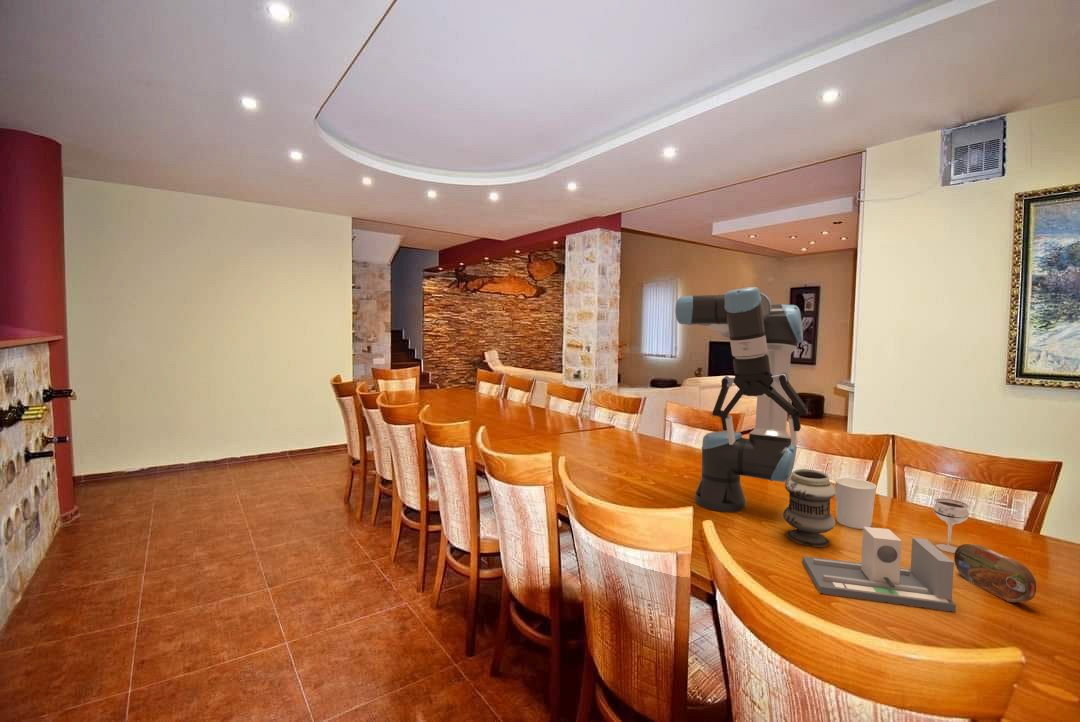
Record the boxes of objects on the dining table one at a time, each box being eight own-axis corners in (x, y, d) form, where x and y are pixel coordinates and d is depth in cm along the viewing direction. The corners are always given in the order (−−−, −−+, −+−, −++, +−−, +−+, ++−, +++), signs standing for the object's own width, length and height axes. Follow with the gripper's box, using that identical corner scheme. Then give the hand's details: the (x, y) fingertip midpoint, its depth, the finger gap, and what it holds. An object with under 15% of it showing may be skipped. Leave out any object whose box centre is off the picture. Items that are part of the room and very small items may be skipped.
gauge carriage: (878, 591, 97) (881, 544, 96) (861, 569, 106) (863, 526, 105) (906, 595, 96) (909, 548, 95) (886, 572, 105) (888, 529, 104)
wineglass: (969, 557, 115) (972, 510, 115) (934, 550, 119) (936, 504, 118) (963, 546, 121) (965, 501, 120) (929, 540, 125) (931, 496, 124)
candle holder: (881, 531, 130) (883, 489, 129) (842, 528, 132) (843, 487, 131) (864, 518, 140) (866, 478, 139) (828, 515, 142) (829, 476, 141)
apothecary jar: (785, 544, 122) (787, 477, 121) (780, 526, 133) (782, 464, 132) (839, 552, 118) (842, 482, 117) (829, 533, 129) (831, 469, 128)
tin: (951, 572, 108) (954, 537, 108) (964, 572, 109) (966, 536, 108) (1024, 611, 93) (1027, 570, 93) (1038, 610, 94) (1041, 570, 93)
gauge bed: (819, 593, 99) (821, 550, 99) (802, 562, 113) (803, 523, 112) (955, 612, 93) (958, 566, 92) (919, 576, 106) (922, 536, 106)
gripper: (691, 363, 112) (704, 447, 115) (809, 353, 97) (821, 451, 99) (701, 356, 118) (713, 437, 120) (814, 347, 103) (825, 439, 105)
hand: (762, 443), depth 110 cm, fingers open, 13 cm apart
